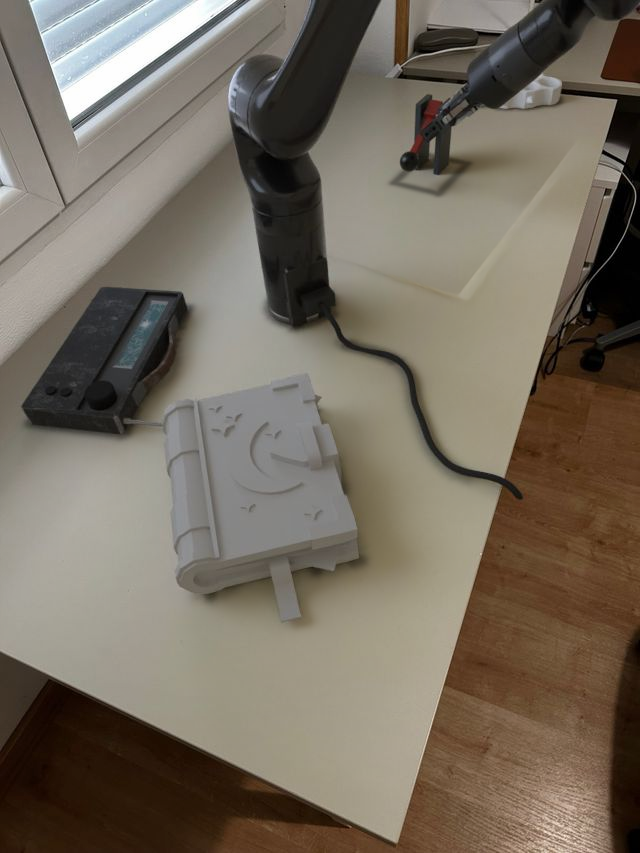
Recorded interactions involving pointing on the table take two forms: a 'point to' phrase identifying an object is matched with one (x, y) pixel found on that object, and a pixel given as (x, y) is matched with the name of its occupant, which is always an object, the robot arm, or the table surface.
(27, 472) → the table surface
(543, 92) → the white muffin tray
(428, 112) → the lever
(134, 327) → the radio
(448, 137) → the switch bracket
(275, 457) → the book
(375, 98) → the table surface
